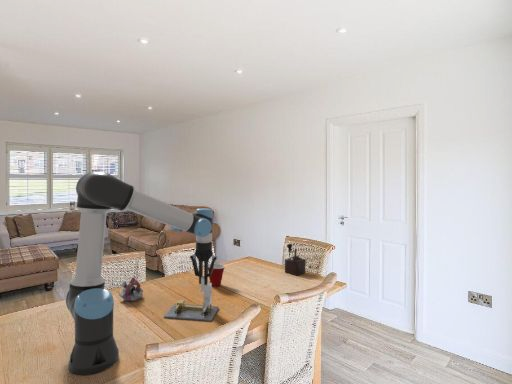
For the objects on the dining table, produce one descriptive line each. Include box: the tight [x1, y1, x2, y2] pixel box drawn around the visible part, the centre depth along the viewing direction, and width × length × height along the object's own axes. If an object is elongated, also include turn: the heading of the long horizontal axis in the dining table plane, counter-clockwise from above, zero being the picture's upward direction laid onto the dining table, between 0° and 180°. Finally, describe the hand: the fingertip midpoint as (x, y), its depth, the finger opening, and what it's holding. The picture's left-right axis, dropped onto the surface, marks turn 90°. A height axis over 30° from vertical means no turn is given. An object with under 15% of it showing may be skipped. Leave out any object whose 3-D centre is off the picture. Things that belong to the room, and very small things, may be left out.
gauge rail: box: [175, 299, 213, 312], centre depth 147 cm, size 8×18×3 cm, turn 84°
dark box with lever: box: [284, 243, 307, 277], centre depth 213 cm, size 16×11×18 cm
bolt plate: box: [163, 303, 220, 322], centre depth 146 cm, size 14×22×1 cm, turn 84°
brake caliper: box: [118, 277, 144, 302], centre depth 161 cm, size 11×11×12 cm
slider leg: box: [202, 282, 213, 314], centre depth 146 cm, size 9×3×12 cm, turn 174°
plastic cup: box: [208, 263, 226, 288], centre depth 184 cm, size 11×11×12 cm
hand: (203, 290), depth 148 cm, fingers closed
